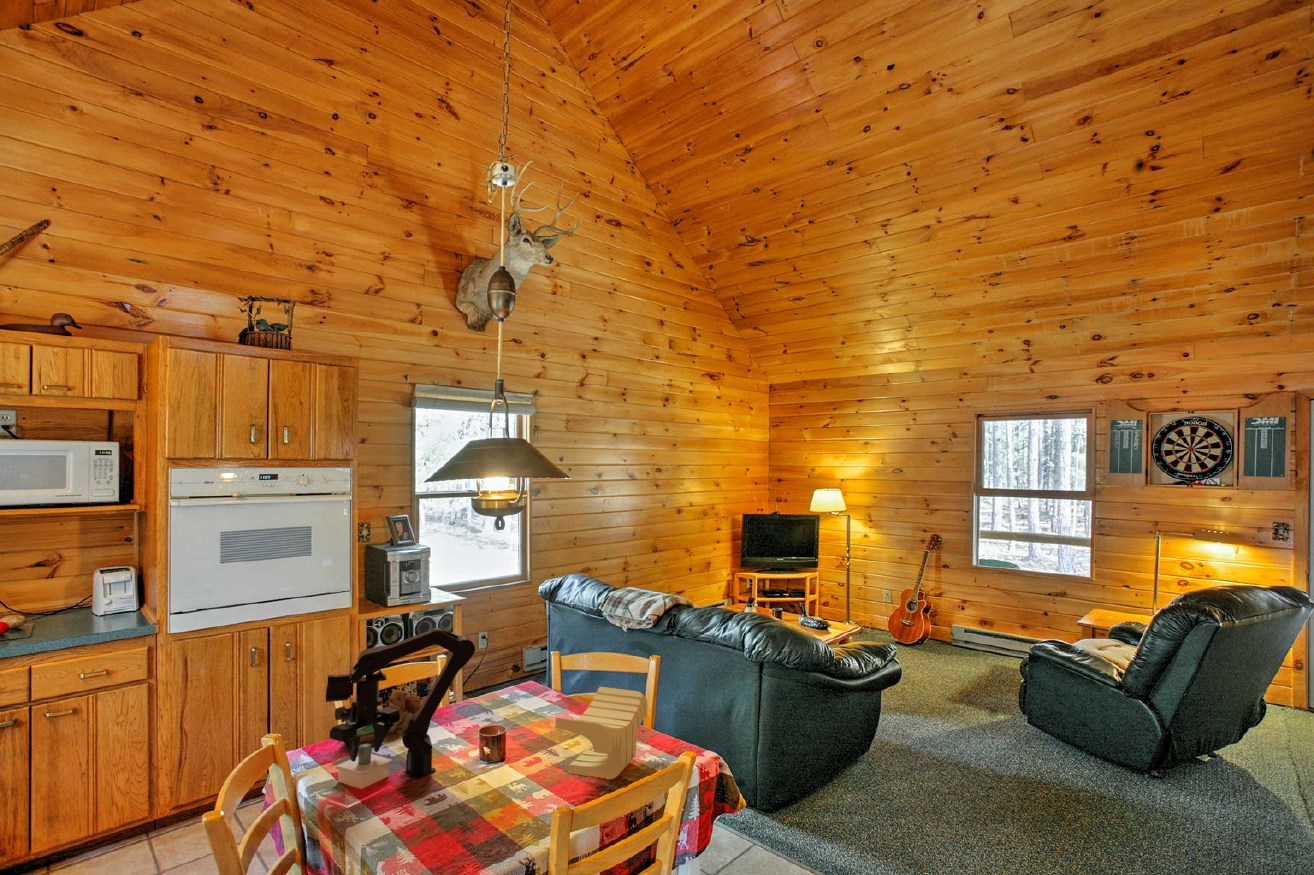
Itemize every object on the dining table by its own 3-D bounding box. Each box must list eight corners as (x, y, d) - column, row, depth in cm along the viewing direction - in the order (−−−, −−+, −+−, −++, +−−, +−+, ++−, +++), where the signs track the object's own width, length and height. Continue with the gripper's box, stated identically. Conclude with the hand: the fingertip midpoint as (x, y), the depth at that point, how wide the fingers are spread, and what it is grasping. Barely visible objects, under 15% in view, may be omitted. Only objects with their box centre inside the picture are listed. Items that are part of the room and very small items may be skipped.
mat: (389, 759, 200) (389, 757, 200) (357, 773, 190) (357, 770, 190) (363, 751, 205) (363, 749, 205) (331, 765, 195) (331, 762, 195)
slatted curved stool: (608, 794, 179) (609, 725, 180) (554, 785, 184) (555, 717, 186) (646, 752, 208) (647, 692, 209) (598, 744, 213) (599, 686, 214)
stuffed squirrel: (371, 734, 219) (373, 692, 220) (402, 720, 232) (403, 680, 233) (396, 738, 215) (398, 696, 216) (426, 724, 229) (427, 684, 229)
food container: (352, 750, 205) (354, 716, 206) (341, 745, 209) (343, 712, 210) (390, 738, 215) (391, 706, 216) (379, 734, 219) (380, 702, 220)
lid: (392, 762, 188) (393, 743, 188) (361, 776, 179) (362, 756, 179) (367, 755, 192) (367, 736, 193) (335, 768, 183) (336, 748, 184)
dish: (388, 778, 187) (389, 763, 187) (361, 791, 179) (361, 775, 179) (366, 771, 191) (366, 756, 192) (338, 783, 183) (338, 768, 184)
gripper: (374, 684, 199) (372, 739, 198) (317, 702, 182) (314, 762, 181) (402, 690, 193) (400, 746, 192) (345, 709, 177) (342, 771, 176)
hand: (364, 756), depth 186 cm, fingers open, 7 cm apart
